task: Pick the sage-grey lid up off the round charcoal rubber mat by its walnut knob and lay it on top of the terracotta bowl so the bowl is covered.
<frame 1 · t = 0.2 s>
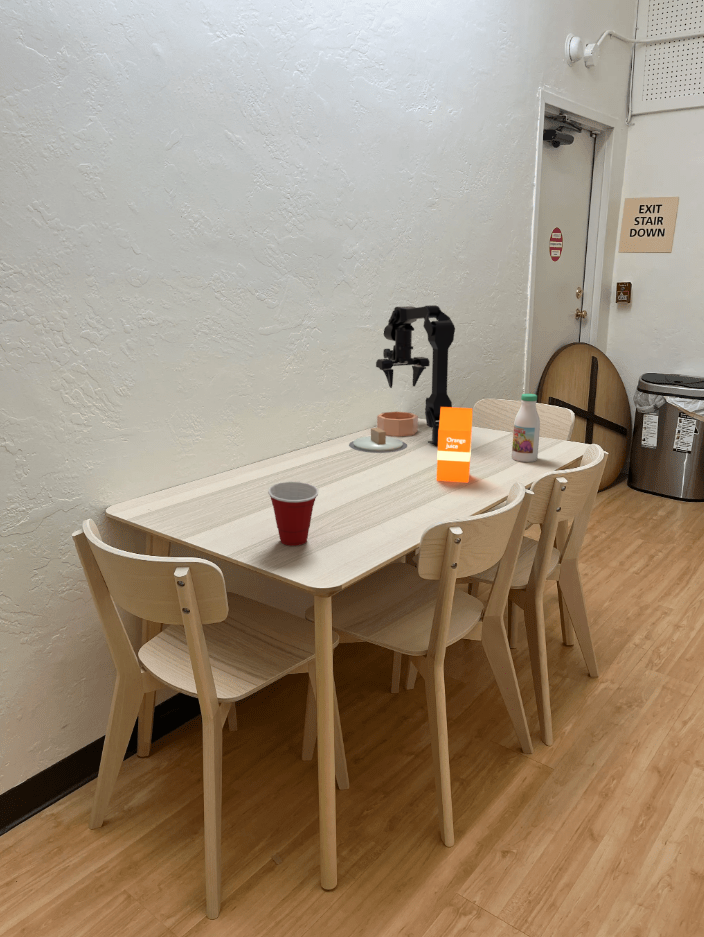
hand: (402, 387, 255), 14 cm above the table, tool pointing down, fingers open, 9 cm apart
plastic cup: (294, 542, 155), on the table
mat: (378, 445, 232), on the table
orange juice: (453, 478, 200), on the table
lid: (378, 444, 232), on the table, touching mat
bowl: (397, 432, 250), on the table
milk bottle: (524, 459, 218), on the table
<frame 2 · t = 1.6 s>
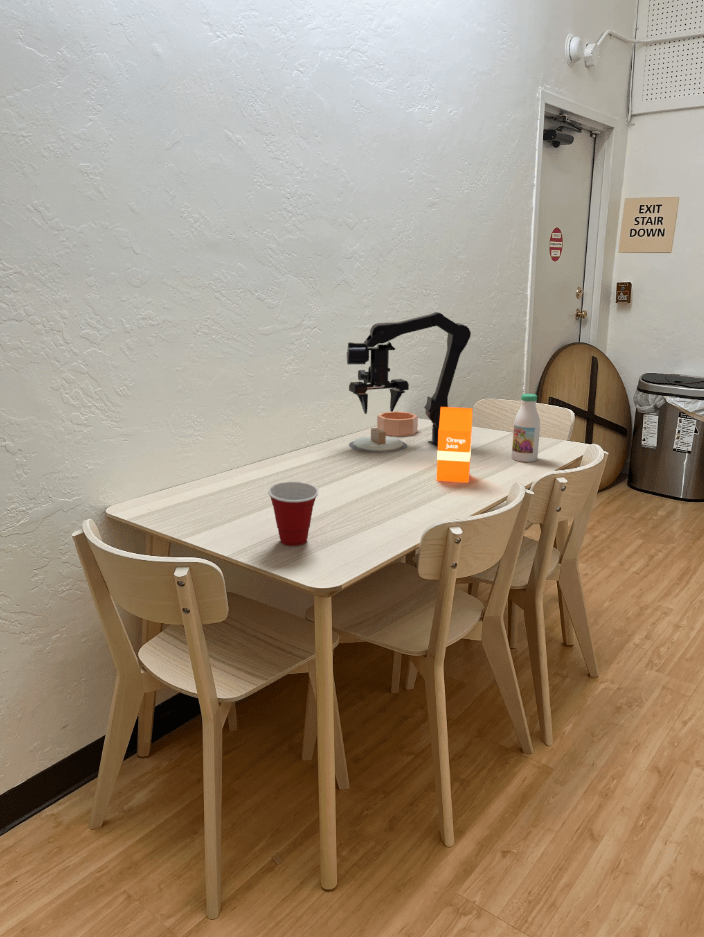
hand: (378, 412, 229), 11 cm above the table, tool pointing down, fingers open, 9 cm apart
nothing on the table moved.
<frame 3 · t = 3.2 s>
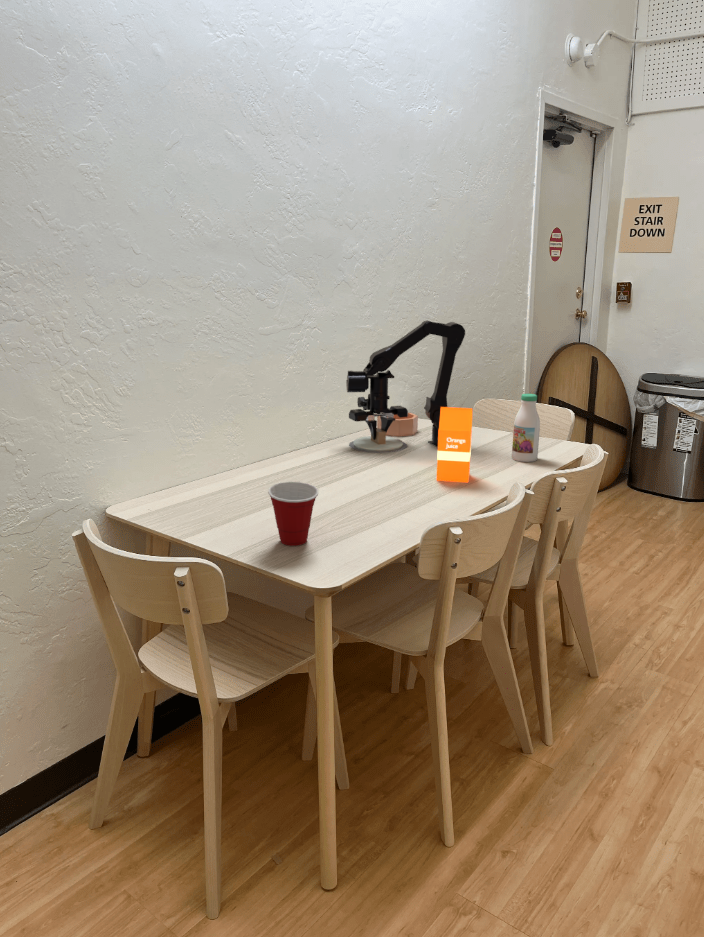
hand: (378, 439, 232), 2 cm above the table, tool pointing down, fingers closed on lid, 2 cm apart
lid: (378, 444, 232), on the table, touching gripper, mat
everything else where it was.
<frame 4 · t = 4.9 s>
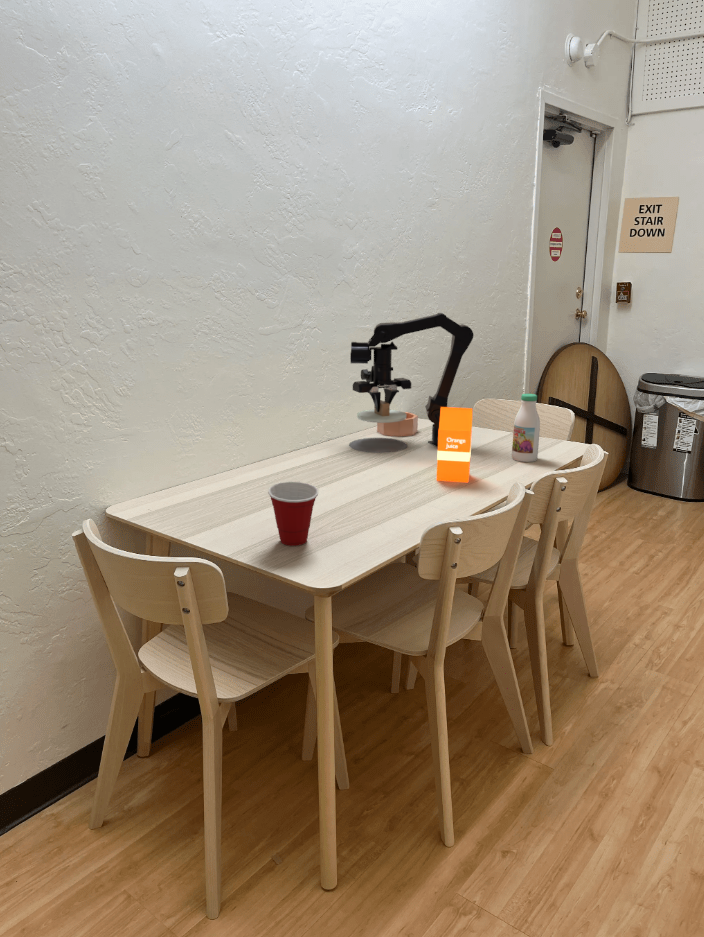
hand: (381, 411, 232), 11 cm above the table, tool pointing down, fingers closed on lid, 2 cm apart
lid: (381, 417, 232), point 9 cm above the table, touching gripper
everything else where it was.
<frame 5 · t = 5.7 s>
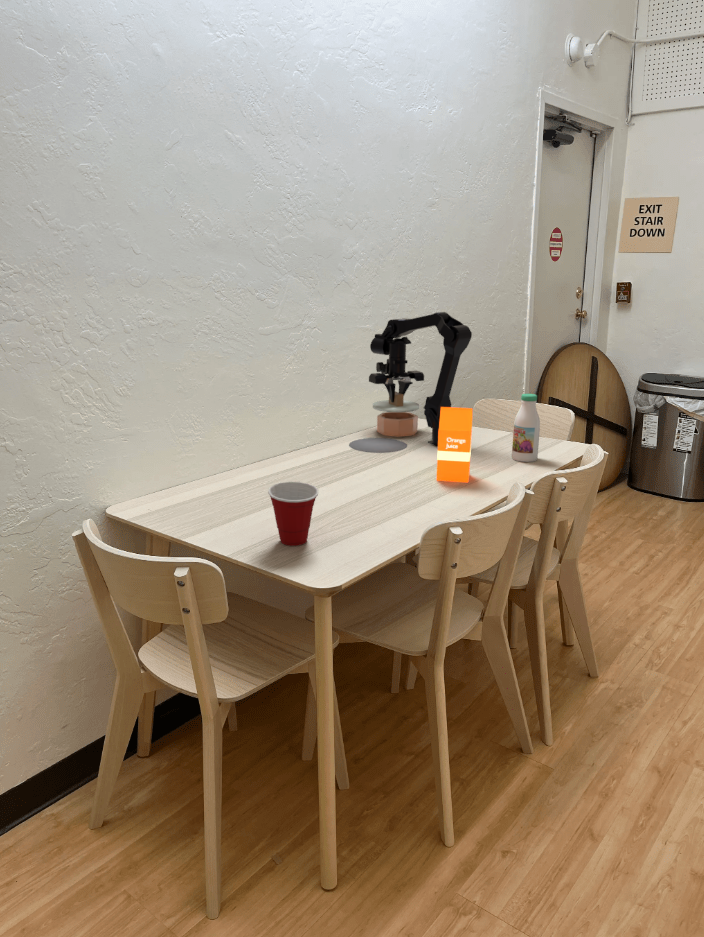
hand: (396, 402, 245), 11 cm above the table, tool pointing down, fingers closed on lid, 2 cm apart
lid: (395, 407, 246), point 9 cm above the table, touching gripper
everything else where it was.
when the fingers open (9 cm above the table, at t = 6.4 s): lid drops 1 cm, resting on bowl.
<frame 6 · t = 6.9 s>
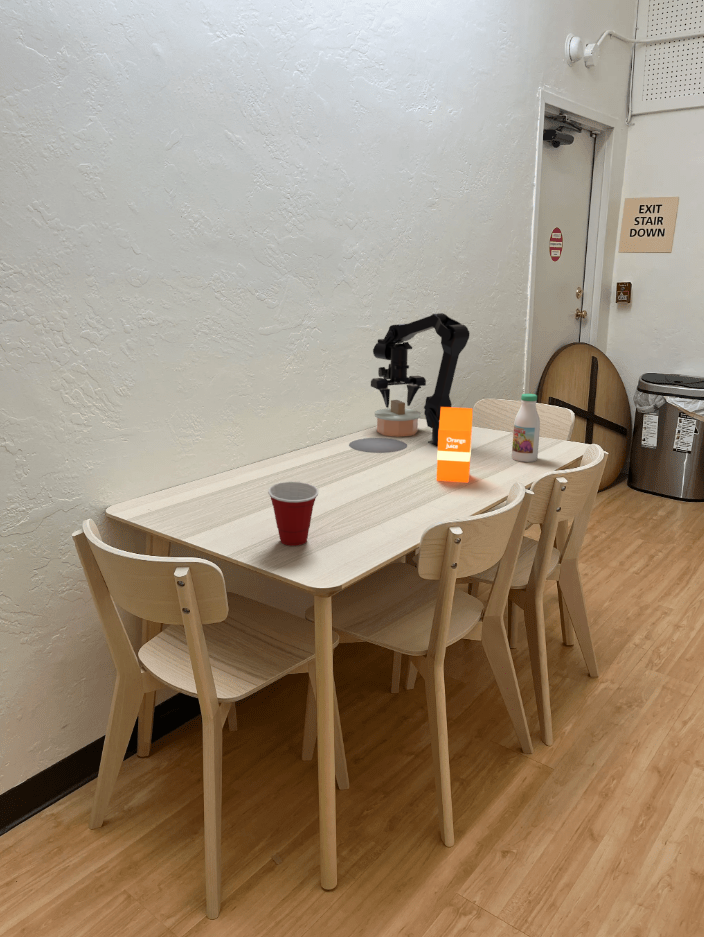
hand: (397, 406, 247), 9 cm above the table, tool pointing down, fingers open, 8 cm apart
lid: (397, 415, 248), point 6 cm above the table, touching bowl
everything else where it was.
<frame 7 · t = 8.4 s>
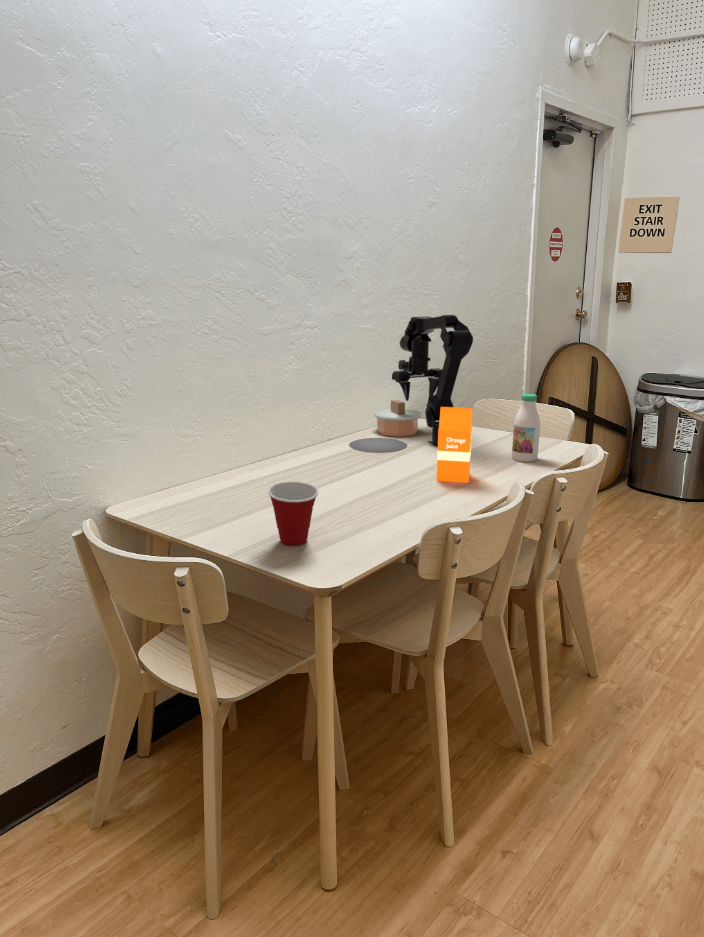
hand: (418, 399, 246), 12 cm above the table, tool pointing down, fingers open, 9 cm apart
nothing on the table moved.
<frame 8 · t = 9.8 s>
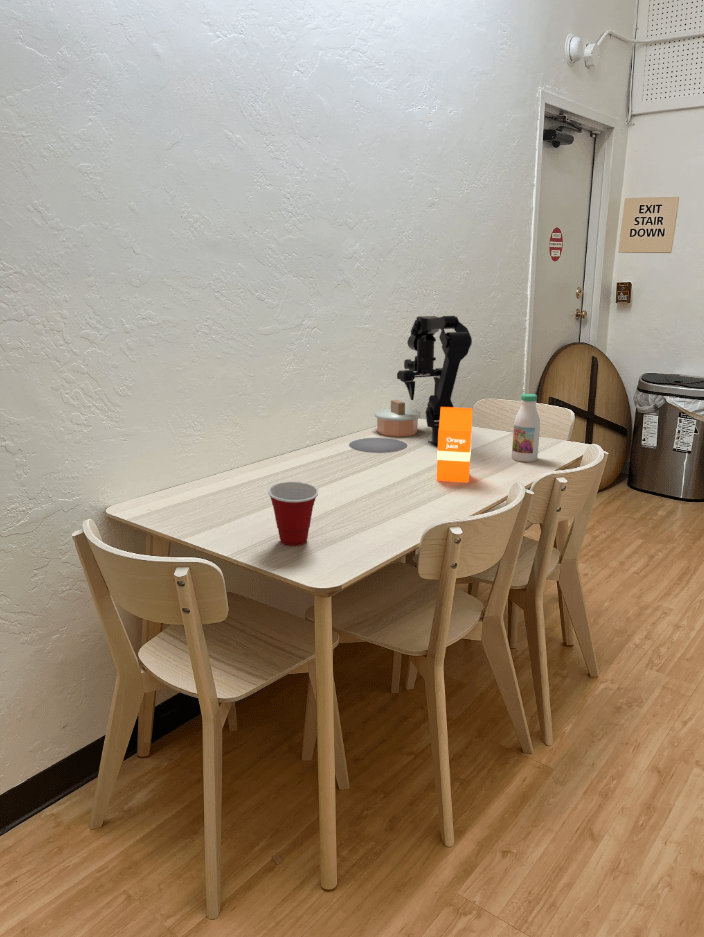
hand: (423, 399, 246), 12 cm above the table, tool pointing down, fingers open, 9 cm apart
nothing on the table moved.
at the end: lid 0.0 cm from the bowl (horizontally); lid point 6.0 cm above the table; lid tilted 0° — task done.
